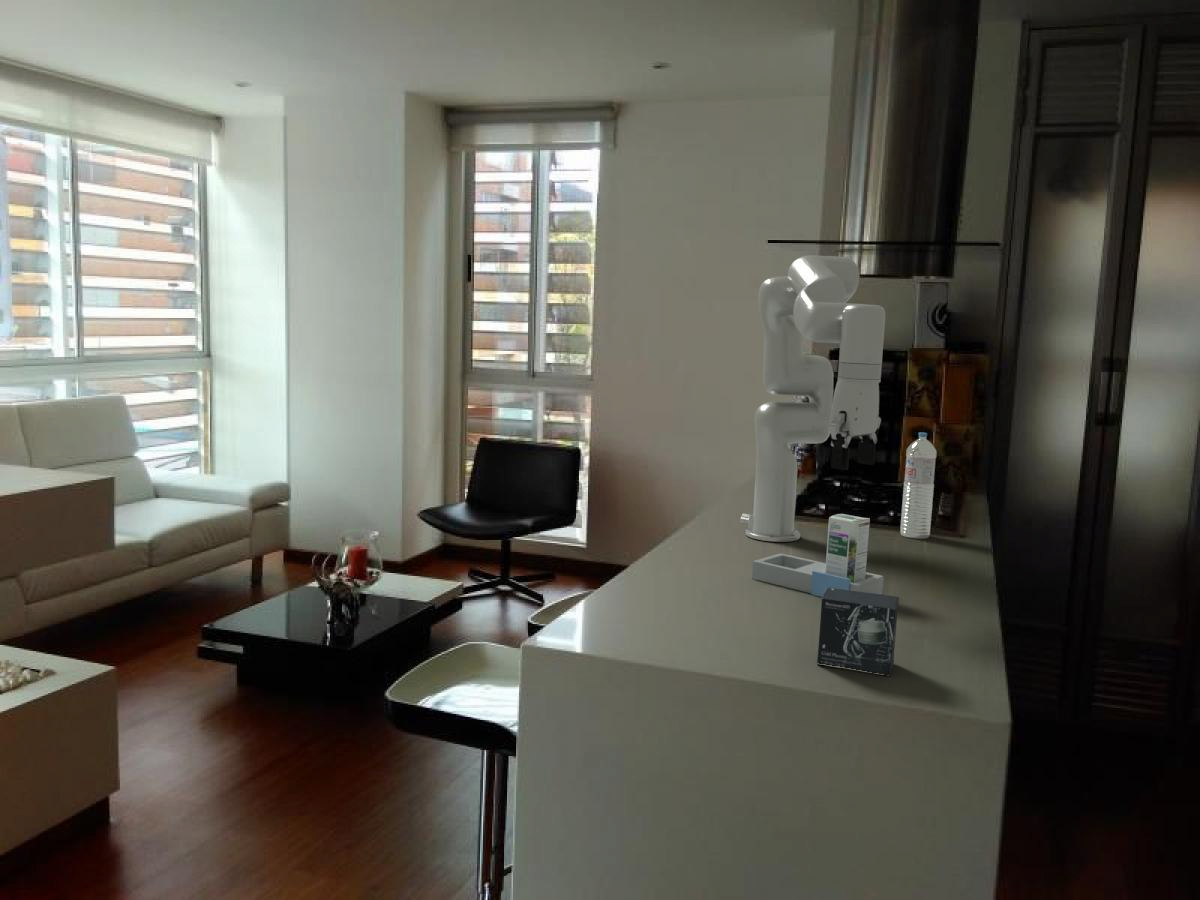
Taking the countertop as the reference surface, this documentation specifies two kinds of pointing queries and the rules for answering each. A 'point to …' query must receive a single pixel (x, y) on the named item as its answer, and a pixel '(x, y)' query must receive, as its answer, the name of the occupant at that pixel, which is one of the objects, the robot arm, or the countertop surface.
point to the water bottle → (918, 489)
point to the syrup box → (847, 547)
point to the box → (858, 630)
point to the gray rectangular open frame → (809, 576)
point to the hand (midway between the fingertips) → (852, 466)
